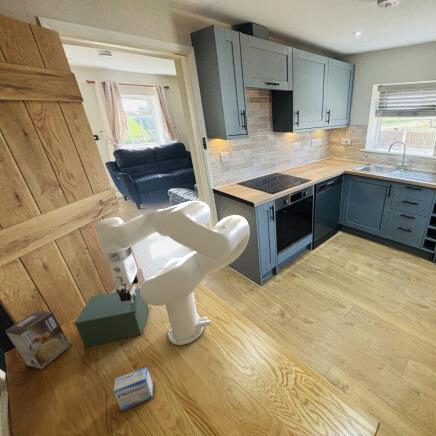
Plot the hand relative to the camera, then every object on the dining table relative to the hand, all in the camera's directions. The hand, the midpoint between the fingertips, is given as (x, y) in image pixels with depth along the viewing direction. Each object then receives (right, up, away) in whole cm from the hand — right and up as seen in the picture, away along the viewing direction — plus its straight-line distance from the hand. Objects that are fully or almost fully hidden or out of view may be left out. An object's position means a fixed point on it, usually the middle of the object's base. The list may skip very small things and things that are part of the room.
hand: (130, 291), depth 89 cm
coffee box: (-23, -20, -8) cm, 31 cm away
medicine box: (+15, -26, -19) cm, 35 cm away
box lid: (-6, -5, 0) cm, 8 cm away
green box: (-7, -15, +4) cm, 17 cm away
